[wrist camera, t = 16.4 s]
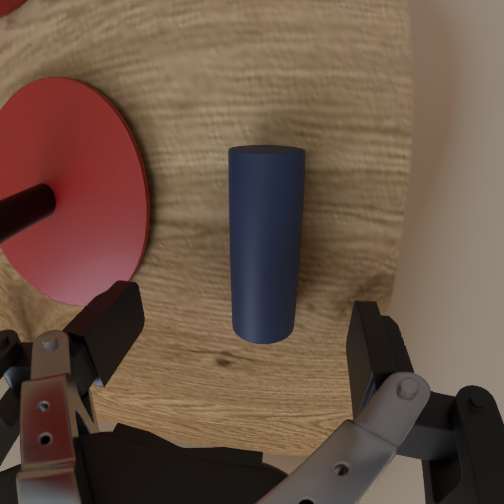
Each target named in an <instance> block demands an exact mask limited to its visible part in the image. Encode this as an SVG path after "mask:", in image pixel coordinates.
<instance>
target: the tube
mask: <svg viewBox="0 0 504 504" xmlns="http://www.w3.org/2000/svg"><path fill="white" fill-rule="evenodd" d="M228 155H229V219H230V261H231V294H232V323H233V329H234V331H235V333H236V334H237V335H238V336H239V337H241V338H242V339H244V340H246V341H249V342H252V343H257V344H271V343H276V342H279V341H282V340H284V339H285V338H287V337H288V336H289V335H290V334H291V333H292V331H293V328H294V320H295V309H296V298H297V286H298V273H299V260H300V245H301V230H302V213H303V194H304V173H305V150H303V149H300V148H296V147H288V146H273V145H250V146H238V147H232V148H230V149H229V150H228Z"/></svg>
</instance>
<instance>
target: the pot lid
mask: <svg viewBox="0 0 504 504" xmlns="http://www.w3.org/2000/svg"><path fill="white" fill-rule="evenodd" d="M149 225H150V195H149V186H148V180H147V175H146V171H145V166H144V163H143V160H142V156H141V153H140V150H139V147H138V145H137V143H136V141H135V138H134V136H133V134H132V132H131V130H130V128H129V127H128V125H127V123H126V122H125V120H124V118H123V117H122V115H121V114H120V113H119V112H118V110H117V109H116V108H115V107H114V105H113V104H112V103H111V102H110V101H109V100H108V99H107V98H106V97H105V96H104V95H102V94H101V93H100V92H99V91H97V90H96V89H94V88H93V87H91V86H90V85H88V84H85V83H83V82H81V81H78V80H75V79H70V78H65V77H50V78H44V79H39V80H37V81H34V82H32V83H30V84H28V85H26V86H25V87H23V88H21V89H20V90H19V91H17V92H16V93H15V94H14V95H13V96H12V97H11V98H10V99H9V100H8V101H7V102H6V104H5V105H4V106H3V108H2V109H1V111H0V247H1V249H2V251H3V252H4V254H5V256H6V257H7V259H8V260H9V262H10V263H11V264H12V266H13V267H14V268H15V269H16V271H17V272H18V273H19V274H20V275H21V276H22V277H23V278H24V279H25V280H26V281H27V282H28V283H29V284H30V285H32V286H33V287H34V288H35V289H37V290H38V291H40V292H41V293H43V294H44V295H46V296H48V297H50V298H52V299H54V300H56V301H59V302H62V303H65V304H71V305H80V306H86V305H88V303H89V302H90V301H91V300H92V299H93V298H94V297H96V296H98V295H99V294H101V293H103V292H105V291H107V290H108V289H109V288H110V287H111V286H112V285H113V284H114V283H115V282H116V281H118V280H122V281H129V280H130V279H131V278H132V277H133V275H134V274H135V272H136V270H137V268H138V267H139V265H140V262H141V260H142V257H143V255H144V252H145V248H146V244H147V240H148V234H149Z"/></svg>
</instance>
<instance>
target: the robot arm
mask: <svg viewBox="0 0 504 504" xmlns="http://www.w3.org/2000/svg"><path fill="white" fill-rule="evenodd" d="M144 321H145V317H144V311H143V306H142V301H141V296H140V291H139V286H138V284H137V283H136V282H130V281H122V280H118V281H116V282H115V283H114V284H113V285H112V286H111V287H110V288H109V289H108V290H107V291H105V292H103V293H101V294H99V295H98V296H96V297H94V298H93V299H92V300H91V301H90V302H89V303H88V306H86V307H85V308H84V309H83V310H82V312H80V313H79V314H78V315H77V316H76V317H75V318H74V319H73V320H72V321H71V322H70V323H69V324H68V325H67V326H66V327H65V328H64V329H63V330H62V331H60V330H52V331H48V332H45V333H43V334H41V335H40V336H38V337H37V338H36V339H35V341H34V343H30V342H21V341H20V339H19V337H18V334H17V333H16V332H15V331H14V330H3V331H0V379H1V378H2V377H4V378H5V380H6V382H7V383H8V385H9V387H10V388H9V389H8V390H7V392H6V393H5V394H4V396H3V397H2V398H1V400H0V466H1V464H2V462H3V460H4V459H5V457H6V455H7V453H8V452H9V450H10V449H11V447H12V445H13V443H14V442H15V441H16V439H17V437H18V436H19V434H20V453H21V464H19V465H16V466H14V467H12V468H9V469H7V470H4V471H1V472H0V504H359V503H360V501H361V500H362V499H363V498H364V496H365V495H366V494H367V493H368V491H369V490H370V489H371V488H372V486H373V485H374V484H375V482H376V481H377V480H378V478H379V477H380V476H381V474H382V473H383V472H384V470H385V469H386V468H387V466H388V465H389V464H390V462H391V461H392V459H393V458H394V456H395V455H396V454H397V455H402V456H407V457H412V458H417V459H421V461H422V469H423V478H424V489H425V501H426V504H504V424H503V421H502V418H501V415H500V413H499V410H498V407H497V404H496V402H495V400H494V398H493V396H492V395H491V394H490V393H489V392H488V391H487V390H485V389H484V388H482V387H479V386H474V385H470V386H466V387H463V388H462V389H461V390H459V392H458V393H457V395H456V397H454V396H449V395H444V394H440V393H435V392H433V391H430V387H429V385H428V383H427V382H426V381H425V380H424V379H423V378H422V377H420V376H419V375H417V374H415V373H414V371H413V367H412V364H411V361H410V358H409V355H408V352H407V349H406V346H405V345H404V341H403V338H402V337H401V332H400V330H399V327H398V325H397V323H395V321H393V319H391V317H390V316H381V315H380V311H379V308H378V305H377V303H376V302H375V301H355V302H354V305H353V310H352V315H351V320H350V325H349V330H348V335H347V342H346V354H347V363H348V371H349V380H350V390H351V400H352V410H353V420H352V421H351V420H349V419H347V420H345V421H344V422H343V423H342V424H341V425H340V426H339V427H338V428H337V429H336V430H335V431H334V432H333V433H332V434H331V435H330V436H329V437H328V438H327V439H326V440H325V441H324V442H323V443H322V444H321V445H320V446H319V447H318V448H317V449H316V450H315V451H314V452H313V453H312V454H311V455H310V456H309V457H308V458H307V459H306V460H305V461H304V462H303V463H302V464H300V465H299V466H298V467H297V468H296V469H295V470H294V471H293V472H292V473H291V474H289V475H288V474H287V473H285V472H283V471H282V470H280V469H278V468H276V467H274V466H272V465H269V464H266V463H263V462H262V458H263V452H257V451H249V450H241V449H234V448H227V447H214V448H182V447H179V446H177V445H175V444H173V443H171V442H169V441H167V440H165V439H163V438H161V437H159V436H157V435H155V434H153V433H151V432H149V431H145V430H141V429H138V428H134V427H131V426H127V425H124V424H121V423H117V425H116V427H115V429H114V430H113V432H100V431H99V427H98V423H97V418H96V413H95V408H94V403H93V398H92V393H91V391H90V389H89V388H90V387H91V385H92V384H94V385H98V386H101V387H105V386H106V384H107V383H108V381H109V380H110V378H111V376H112V375H113V373H114V372H115V370H116V369H117V367H118V366H119V364H120V363H121V361H122V360H123V358H124V357H125V355H126V354H127V352H128V351H129V349H130V348H131V346H132V345H133V343H134V342H135V341H136V339H137V338H138V336H139V335H140V333H141V332H142V330H143V327H144Z"/></svg>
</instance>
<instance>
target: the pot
mask: <svg viewBox="0 0 504 504" xmlns="http://www.w3.org/2000/svg"><path fill="white" fill-rule="evenodd" d="M26 1H27V0H0V17H3V16H5V15H7V14H9V13H10V12H12V11H13V10H15V9H17V8H18V7H19V6H21V5H22V4H23V3H24V2H26Z"/></svg>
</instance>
